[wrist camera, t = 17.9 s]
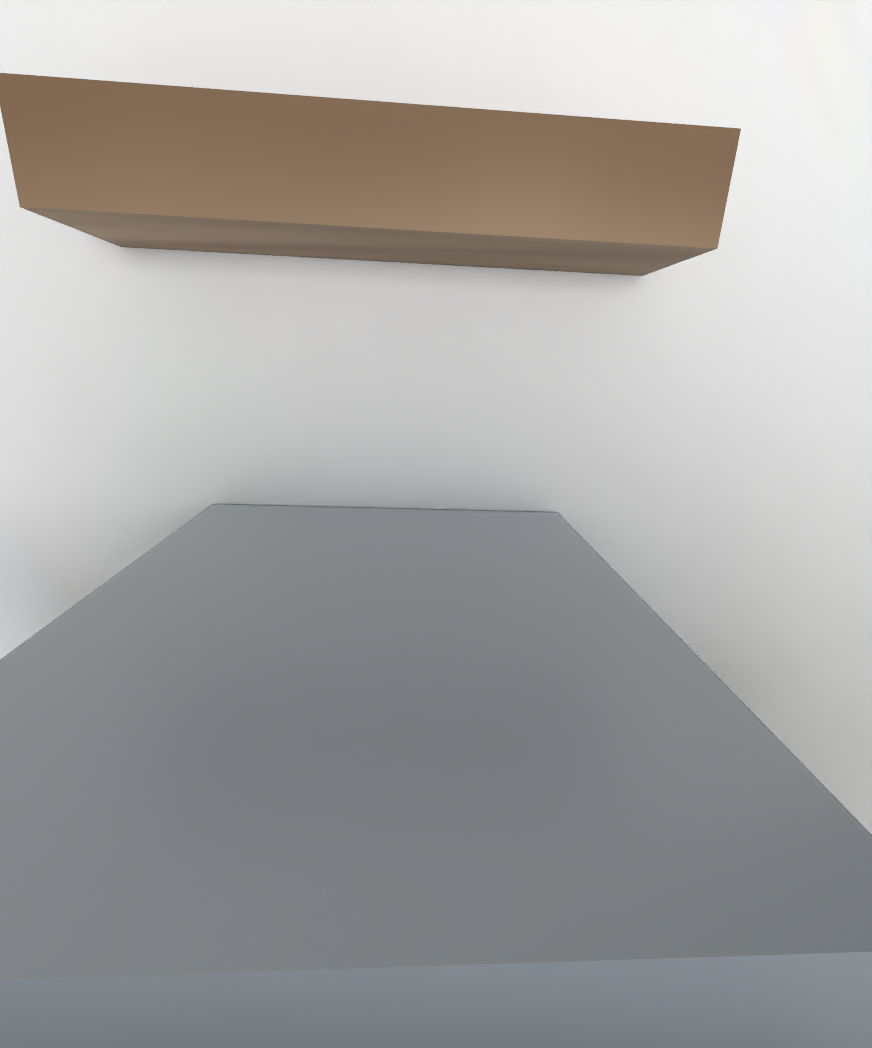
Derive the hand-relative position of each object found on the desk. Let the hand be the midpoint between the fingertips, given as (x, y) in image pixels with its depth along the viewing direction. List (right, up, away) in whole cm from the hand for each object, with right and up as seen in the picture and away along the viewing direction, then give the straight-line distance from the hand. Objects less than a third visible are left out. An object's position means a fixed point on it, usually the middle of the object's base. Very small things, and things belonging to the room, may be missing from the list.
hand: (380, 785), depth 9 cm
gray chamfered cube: (0, +1, +4) cm, 4 cm away
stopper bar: (0, +10, +1) cm, 10 cm away
